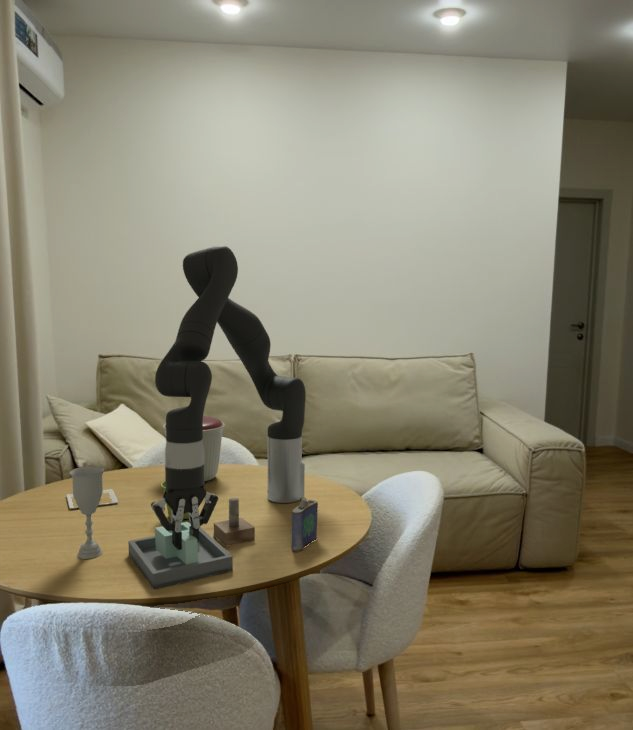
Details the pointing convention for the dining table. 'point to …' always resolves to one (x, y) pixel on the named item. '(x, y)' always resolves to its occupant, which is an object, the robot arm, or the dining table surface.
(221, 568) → the tray
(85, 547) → the chalice
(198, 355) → the robot arm
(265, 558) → the dining table surface
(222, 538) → the brown peg stand
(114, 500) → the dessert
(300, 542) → the flask
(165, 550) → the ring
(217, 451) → the canister
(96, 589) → the dining table surface
